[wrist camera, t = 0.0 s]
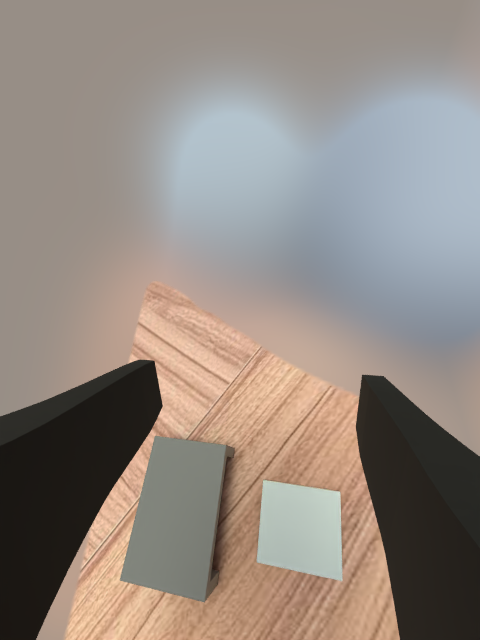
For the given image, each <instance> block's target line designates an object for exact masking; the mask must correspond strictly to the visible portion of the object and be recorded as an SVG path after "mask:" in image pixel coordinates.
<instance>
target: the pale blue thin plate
mask: <svg viewBox="0 0 480 640" xmlns="http://www.w3.org/2000/svg"><path fill="white" fill-rule="evenodd" d="M257 563H262V564H267V565H271V566H276V567H280V568H285V569H289V570H294V571H298V572H303V573H308V574H312V575H317V576H321V577H326V578H330V579H335V580H340V581H342V542H341V503H340V492H339V491H335V490H329V489H322V488H316V487H309V486H303V485H296V484H290V483H283V482H277V481H270V480H263V490H262V502H261V515H260V527H259V540H258V552H257Z"/></svg>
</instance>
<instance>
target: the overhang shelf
mask: <svg viewBox="0 0 480 640" xmlns="http://www.w3.org/2000/svg"><path fill="white" fill-rule="evenodd" d="M233 456H234V448H232V447H230V446H227V445H221V444H213V443H205V442H198V441H190V440H182V439H175V438H167V437H160V436H155V438H154V442H153V447H152V451H151V455H150V459H149V463H148V467H147V471H146V475H145V479H144V483H143V488H142V492H141V496H140V500H139V504H138V508H137V512H136V516H135V520H134V524H133V528H132V533H131V537H130V541H129V545H128V549H127V553H126V557H125V561H124V565H123V569H122V574H121V578H120V581H124V582H128V583H132V584H136V585H140V586H144V587H147V588H151V589H155V590H159V591H163V592H167V593H170V594H174V595H178V596H182V597H186V598H190V599H194V600H197V601H201V602H205V601H206V600H207V598H208V597H209V595H210V594H211V593H212V591H213V590H214V588H215V587H216V586H217V584H218V576H219V571H217V570H213V569H212V563H213V556H214V548H215V541H216V533H217V526H218V519H219V511H220V504H221V496H222V489H223V481H224V474H225V466H226V459H227V457H230V458H233Z"/></svg>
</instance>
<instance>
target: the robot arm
mask: <svg viewBox="0 0 480 640" xmlns="http://www.w3.org/2000/svg"><path fill="white" fill-rule="evenodd" d="M162 407H163V405H162V400H161V394H160V389H159V383H158V378H157V373H156V367H155V362H154V361H152V360H137V361H134V362H131V363H129V364H126V365H124V366H122V367H119V368H117V369H115V370H113V371H111V372H109V373H106V374H104V375H102V376H100V377H97V378H95V379H93V380H91V381H89V382H87V383H85V384H82V385H80V386H78V387H75V388H73V389H71V390H68V391H66V392H64V393H61V394H59V395H57V396H55V397H52V398H50V399H47V400H45V401H42V402H40V403H37V404H34V405H32V406H29V407H26V408H23V409H21V410H18V411H15V412H12V413H10V414H6V415H3V416H0V640H36V638H37V636H38V633H39V631H40V629H41V627H42V625H43V622H44V620H45V618H46V615H47V613H48V611H49V609H50V607H51V605H52V603H53V601H54V599H55V597H56V594H57V592H58V590H59V588H60V586H61V584H62V582H63V580H64V577H65V576H66V573H67V571H68V569H69V567H70V565H71V563H72V561H73V559H74V557H75V556H76V554H77V552H78V550H79V548H80V546H81V544H82V542H83V540H84V538H85V536H86V534H87V532H88V530H89V529H90V527H91V525H92V523H93V521H94V519H95V518H96V516H97V514H98V512H99V510H100V508H101V507H102V505H103V503H104V501H105V500H106V498H107V496H108V495H109V493H110V491H111V490H112V488H113V487H114V485H115V484H116V482H117V481H118V479H119V478H120V476H121V475H122V473H123V472H124V470H125V469H126V467H127V466H128V464H129V463H130V461H131V460H132V458H133V457H134V455H135V454H136V452H137V451H138V450H139V448H140V446H141V445H142V443H143V442H144V440H145V439H146V437H147V436H148V434H149V433H150V431H151V429H152V427H153V425H154V423H155V422H156V420H157V417H158V415H159V413H160V411H161V409H162ZM356 431H357V439H358V446H359V452H360V458H361V462H362V466H363V470H364V474H365V477H366V481H367V485H368V489H369V492H370V496H371V500H372V503H373V507H374V511H375V515H376V518H377V522H378V526H379V529H380V533H381V537H382V541H383V546H384V550H385V554H386V560H387V565H388V571H389V577H390V582H391V588H392V594H393V599H394V605H395V611H396V617H397V623H398V629H399V635H400V640H480V456H478V455H477V454H475V453H474V452H473V451H471V450H470V449H468V448H467V447H466V446H465V445H463V444H462V443H461V442H460V441H458V440H457V439H456V438H454V437H453V436H452V435H451V434H449V433H448V432H447V431H445V430H444V429H443V428H442V427H440V426H439V425H438V424H437V423H436V422H434V421H433V420H432V419H431V418H430V417H428V416H427V415H426V414H425V413H424V412H423V411H422V410H420V409H419V408H418V407H417V406H416V405H415V404H414V403H413V402H411V401H410V400H409V399H408V398H407V397H406V396H405V395H403V393H401V392H400V391H399V390H398V389H397V388H396V387H395V386H394V385H393V384H391V383H390V382H389V381H388V380H387V379H386V378H385V377H384V376H373V375H362V380H361V389H360V397H359V405H358V413H357V422H356Z"/></svg>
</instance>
